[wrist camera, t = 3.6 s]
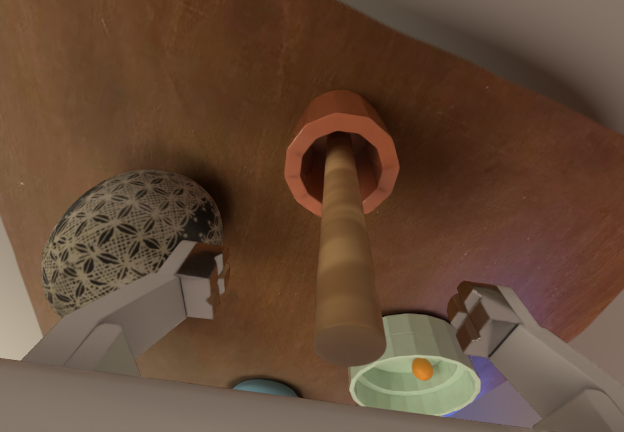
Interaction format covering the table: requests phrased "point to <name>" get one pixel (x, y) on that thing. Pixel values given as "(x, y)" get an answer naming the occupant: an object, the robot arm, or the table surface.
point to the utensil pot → (366, 145)
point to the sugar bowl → (266, 387)
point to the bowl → (400, 379)
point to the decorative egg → (124, 234)
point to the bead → (422, 369)
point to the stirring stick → (345, 267)
